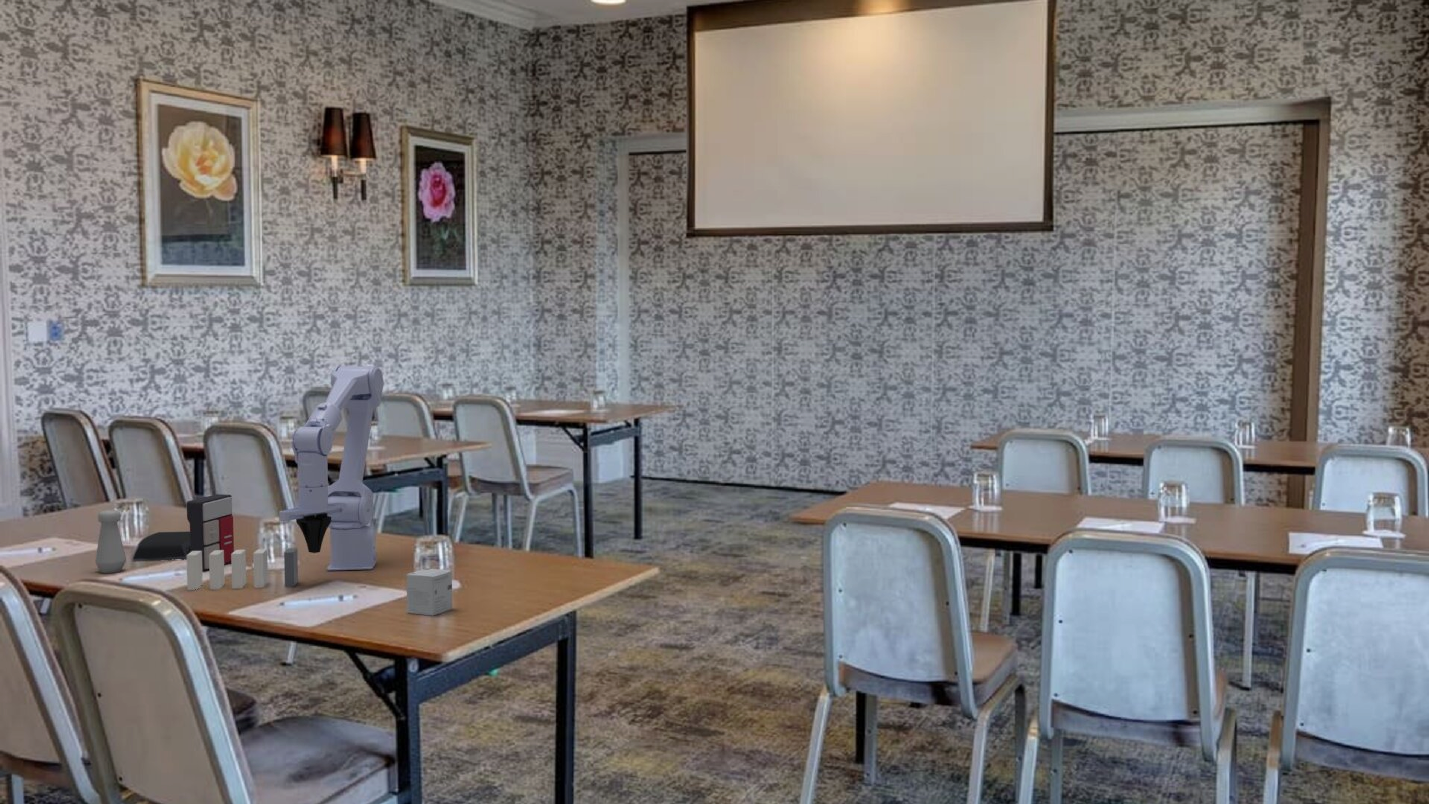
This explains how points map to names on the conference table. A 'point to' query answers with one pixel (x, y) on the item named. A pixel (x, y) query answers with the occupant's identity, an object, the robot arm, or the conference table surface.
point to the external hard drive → (163, 547)
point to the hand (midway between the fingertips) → (314, 552)
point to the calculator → (211, 526)
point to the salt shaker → (110, 543)
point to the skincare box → (429, 591)
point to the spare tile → (291, 567)
